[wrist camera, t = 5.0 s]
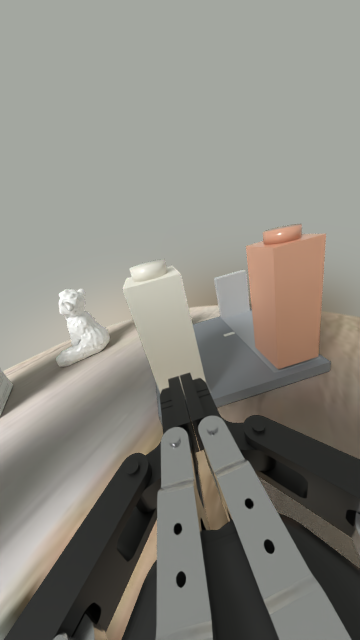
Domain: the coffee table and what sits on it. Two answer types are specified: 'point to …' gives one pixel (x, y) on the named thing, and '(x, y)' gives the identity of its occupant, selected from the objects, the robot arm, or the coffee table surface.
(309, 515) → the coffee table surface
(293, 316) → the terracotta plug
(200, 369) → the cream plug
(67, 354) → the sitting furry creature
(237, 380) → the grey holder stand
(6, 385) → the skincare box
